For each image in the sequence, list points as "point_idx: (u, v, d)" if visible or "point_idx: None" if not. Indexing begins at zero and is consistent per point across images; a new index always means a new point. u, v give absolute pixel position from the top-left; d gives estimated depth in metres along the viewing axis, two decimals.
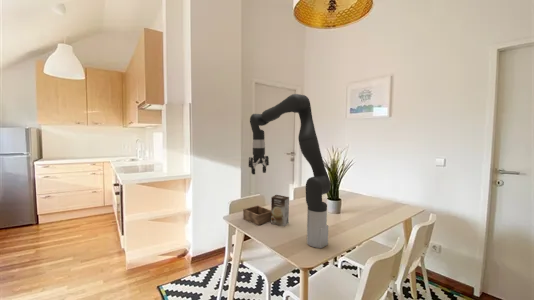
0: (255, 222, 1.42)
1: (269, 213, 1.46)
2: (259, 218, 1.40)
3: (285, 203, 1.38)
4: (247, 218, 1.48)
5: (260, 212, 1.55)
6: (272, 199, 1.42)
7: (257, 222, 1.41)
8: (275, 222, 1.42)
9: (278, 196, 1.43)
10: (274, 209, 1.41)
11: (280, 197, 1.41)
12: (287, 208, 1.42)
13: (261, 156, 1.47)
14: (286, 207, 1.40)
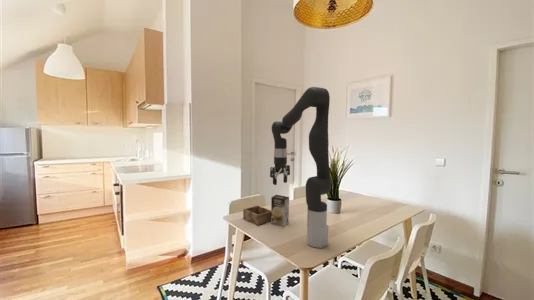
0: (255, 222, 1.42)
1: (269, 213, 1.46)
2: (259, 218, 1.40)
3: (285, 203, 1.38)
4: (247, 218, 1.48)
5: (260, 212, 1.55)
6: (272, 199, 1.42)
7: (257, 222, 1.41)
8: (275, 222, 1.42)
9: (278, 196, 1.43)
10: (274, 209, 1.41)
11: (280, 197, 1.41)
12: (287, 208, 1.42)
13: (283, 165, 1.41)
14: (286, 207, 1.40)
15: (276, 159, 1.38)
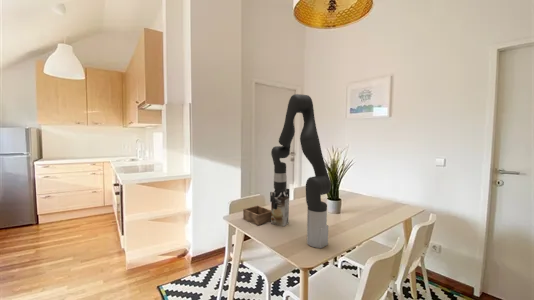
0: (255, 222, 1.42)
1: (269, 213, 1.46)
2: (259, 218, 1.40)
3: (285, 203, 1.38)
4: (247, 218, 1.48)
5: (260, 212, 1.55)
6: (272, 199, 1.42)
7: (257, 222, 1.41)
8: (275, 222, 1.42)
9: None
10: (274, 209, 1.41)
11: (280, 197, 1.41)
12: (287, 208, 1.42)
13: (282, 189, 1.42)
14: (286, 207, 1.40)
15: (276, 184, 1.39)
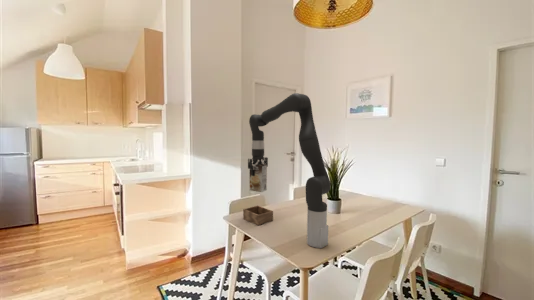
0: (255, 222, 1.42)
1: (269, 213, 1.46)
2: (259, 218, 1.40)
3: (262, 170, 1.42)
4: (247, 218, 1.48)
5: (260, 212, 1.55)
6: None
7: (257, 222, 1.41)
8: (253, 188, 1.46)
9: None
10: (252, 176, 1.45)
11: None
12: (265, 175, 1.45)
13: (260, 157, 1.46)
14: (263, 174, 1.44)
15: (253, 151, 1.43)
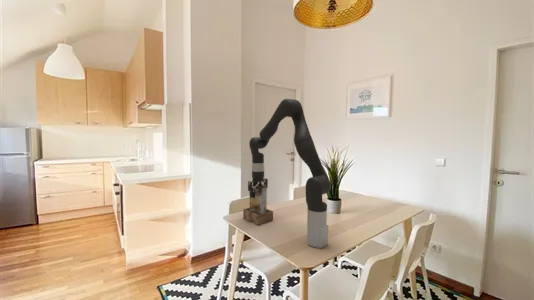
0: (255, 222, 1.42)
1: (269, 213, 1.46)
2: (259, 218, 1.40)
3: (262, 192, 1.43)
4: (247, 218, 1.48)
5: None
6: None
7: (257, 222, 1.41)
8: (253, 210, 1.47)
9: None
10: (252, 198, 1.46)
11: None
12: (265, 197, 1.47)
13: (260, 179, 1.47)
14: (263, 196, 1.45)
15: (253, 173, 1.44)
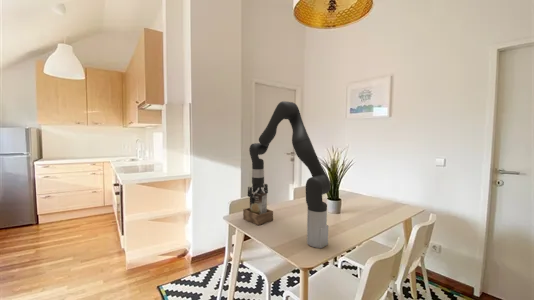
0: (255, 222, 1.42)
1: (269, 213, 1.46)
2: (259, 218, 1.40)
3: (262, 199, 1.44)
4: (247, 218, 1.48)
5: None
6: None
7: (257, 222, 1.41)
8: None
9: None
10: (253, 205, 1.47)
11: (258, 193, 1.47)
12: (265, 204, 1.47)
13: (260, 185, 1.48)
14: (263, 203, 1.45)
15: (253, 179, 1.44)
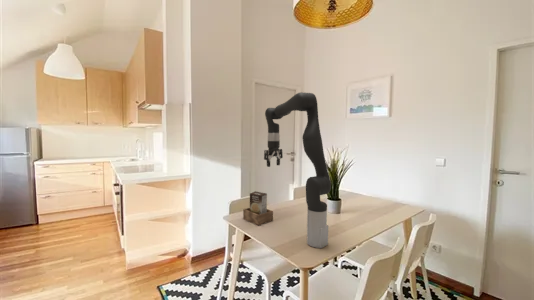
0: (255, 222, 1.42)
1: (269, 213, 1.46)
2: (259, 218, 1.40)
3: (262, 199, 1.44)
4: (247, 218, 1.48)
5: None
6: (250, 195, 1.47)
7: (257, 222, 1.41)
8: None
9: (256, 193, 1.49)
10: (253, 205, 1.47)
11: (258, 193, 1.47)
12: (265, 204, 1.47)
13: (276, 149, 1.51)
14: (263, 203, 1.45)
15: (269, 143, 1.48)
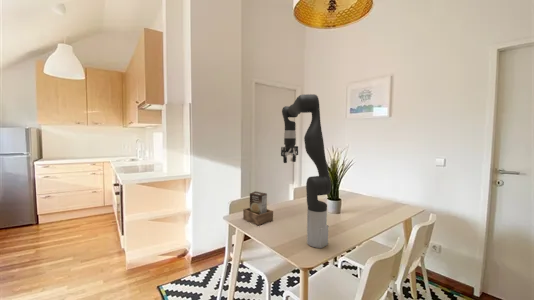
0: (255, 222, 1.42)
1: (269, 213, 1.46)
2: (259, 218, 1.40)
3: (262, 199, 1.44)
4: (247, 218, 1.48)
5: None
6: (250, 195, 1.47)
7: (257, 222, 1.41)
8: None
9: (256, 192, 1.49)
10: (253, 205, 1.47)
11: (258, 193, 1.47)
12: (265, 204, 1.47)
13: (292, 146, 1.57)
14: (263, 203, 1.45)
15: (286, 140, 1.54)
